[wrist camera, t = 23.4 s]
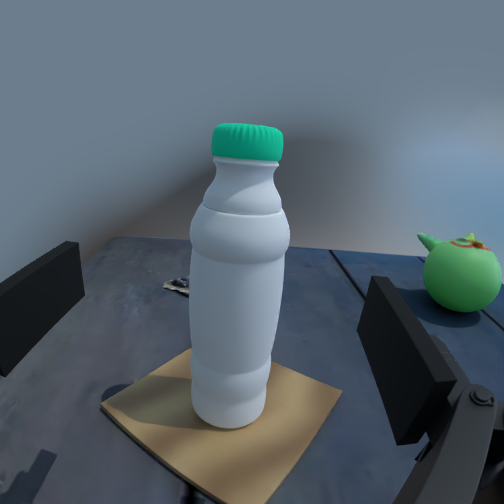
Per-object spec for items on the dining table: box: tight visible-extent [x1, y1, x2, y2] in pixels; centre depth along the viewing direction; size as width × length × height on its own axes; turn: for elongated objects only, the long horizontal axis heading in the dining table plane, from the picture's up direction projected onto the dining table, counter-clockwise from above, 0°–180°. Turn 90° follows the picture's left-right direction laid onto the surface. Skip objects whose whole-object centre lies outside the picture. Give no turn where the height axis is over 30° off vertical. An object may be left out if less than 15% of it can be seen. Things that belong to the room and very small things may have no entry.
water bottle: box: [189, 124, 290, 428], centre depth 24 cm, size 7×7×25 cm
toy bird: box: [417, 233, 502, 312], centre depth 51 cm, size 18×17×15 cm
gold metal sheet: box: [100, 347, 342, 504], centre depth 29 cm, size 18×18×1 cm
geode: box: [163, 276, 190, 294], centre depth 53 cm, size 7×8×2 cm
